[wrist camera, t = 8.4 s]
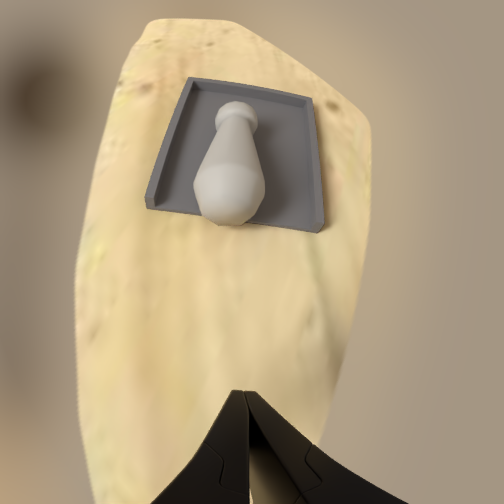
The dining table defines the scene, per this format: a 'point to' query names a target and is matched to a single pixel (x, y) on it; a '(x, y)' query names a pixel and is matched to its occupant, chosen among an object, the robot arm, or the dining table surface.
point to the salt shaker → (231, 169)
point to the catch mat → (267, 146)
